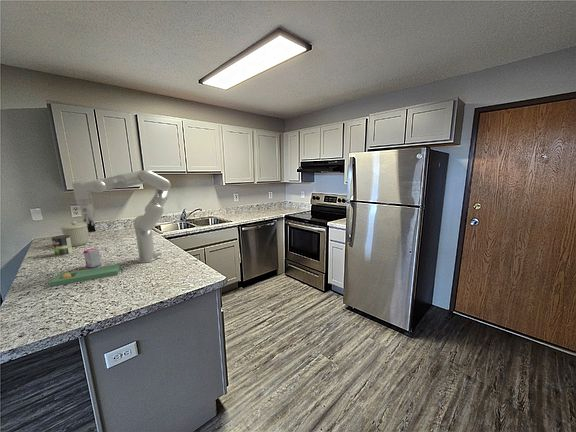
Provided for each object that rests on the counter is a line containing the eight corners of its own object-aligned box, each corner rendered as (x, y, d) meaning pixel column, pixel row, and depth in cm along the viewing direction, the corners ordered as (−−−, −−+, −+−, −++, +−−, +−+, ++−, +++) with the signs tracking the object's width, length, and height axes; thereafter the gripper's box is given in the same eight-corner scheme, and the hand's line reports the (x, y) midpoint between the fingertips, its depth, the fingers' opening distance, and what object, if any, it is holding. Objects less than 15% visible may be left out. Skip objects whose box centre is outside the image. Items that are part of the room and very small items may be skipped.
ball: (64, 271, 136) (62, 278, 136) (62, 274, 133) (60, 281, 133) (73, 272, 138) (71, 278, 138) (71, 275, 135) (69, 282, 135)
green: (120, 267, 153) (119, 264, 153) (117, 274, 143) (117, 270, 142) (58, 278, 139) (58, 274, 139) (51, 286, 129) (50, 282, 128)
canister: (79, 247, 198) (74, 223, 194) (58, 248, 198) (53, 223, 194) (96, 241, 216) (92, 219, 212) (77, 241, 216) (73, 219, 212)
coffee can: (61, 257, 176) (57, 238, 173) (51, 256, 178) (47, 238, 175) (76, 252, 185) (73, 235, 183) (66, 251, 188) (63, 234, 185)
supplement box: (101, 264, 159) (99, 248, 157) (92, 268, 153) (89, 251, 151) (95, 264, 160) (92, 248, 158) (86, 267, 155) (82, 250, 153)
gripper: (90, 202, 136) (97, 233, 140) (95, 200, 148) (101, 228, 152) (73, 204, 132) (81, 235, 136) (80, 201, 145) (87, 230, 149)
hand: (92, 231), depth 144 cm, fingers closed
